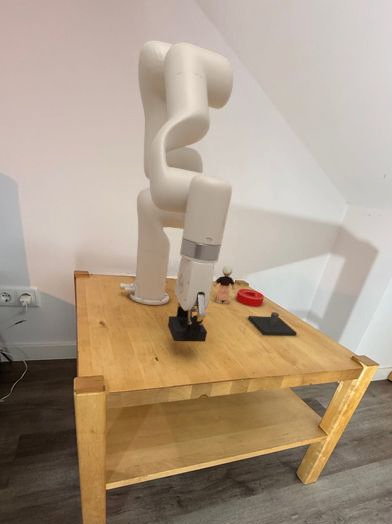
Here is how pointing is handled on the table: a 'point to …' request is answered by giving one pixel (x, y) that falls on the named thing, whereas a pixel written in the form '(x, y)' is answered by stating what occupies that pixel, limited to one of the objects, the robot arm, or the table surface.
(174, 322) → the top pad
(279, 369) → the table surface
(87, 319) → the table surface
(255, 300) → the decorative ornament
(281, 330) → the base pad
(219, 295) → the grandmother figurine
